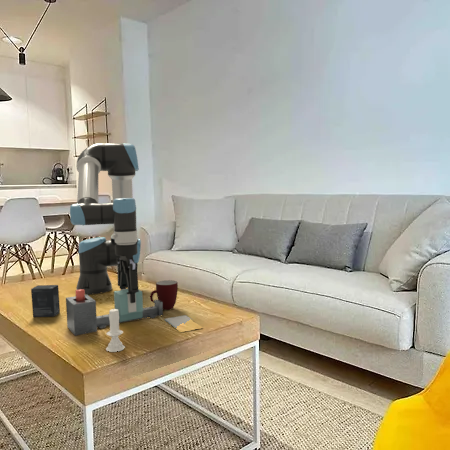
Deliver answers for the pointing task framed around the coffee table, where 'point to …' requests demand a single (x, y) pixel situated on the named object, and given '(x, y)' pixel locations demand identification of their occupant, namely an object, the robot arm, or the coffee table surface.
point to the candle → (114, 332)
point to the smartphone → (177, 320)
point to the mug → (166, 293)
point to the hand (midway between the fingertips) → (128, 309)
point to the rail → (147, 312)
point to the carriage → (122, 305)
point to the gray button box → (81, 315)
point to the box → (45, 300)
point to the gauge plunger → (80, 295)
